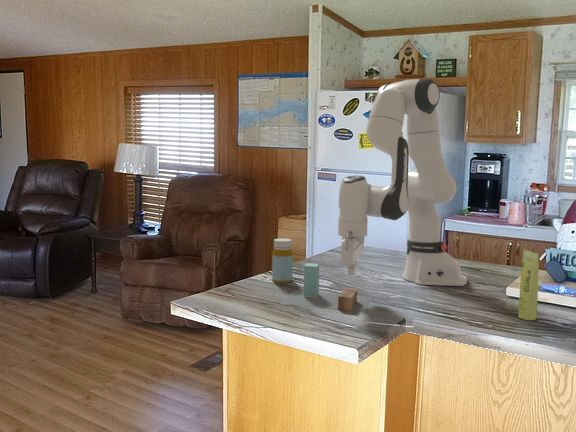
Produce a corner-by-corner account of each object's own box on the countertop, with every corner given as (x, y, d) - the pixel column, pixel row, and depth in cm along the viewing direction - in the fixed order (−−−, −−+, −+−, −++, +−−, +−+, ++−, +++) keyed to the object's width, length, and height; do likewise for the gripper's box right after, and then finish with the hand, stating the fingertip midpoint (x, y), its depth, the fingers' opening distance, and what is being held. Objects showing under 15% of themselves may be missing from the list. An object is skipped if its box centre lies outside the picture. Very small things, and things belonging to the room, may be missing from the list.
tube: (513, 317, 165) (517, 250, 163) (519, 313, 169) (523, 248, 166) (533, 322, 162) (538, 253, 159) (539, 317, 166) (544, 251, 163)
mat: (372, 298, 183) (372, 297, 183) (365, 313, 168) (365, 312, 168) (293, 291, 190) (293, 290, 190) (279, 305, 175) (279, 304, 175)
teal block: (318, 294, 186) (319, 264, 184) (315, 297, 182) (316, 266, 181) (306, 293, 187) (307, 263, 185) (303, 296, 183) (304, 265, 182)
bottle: (290, 285, 198) (290, 242, 196) (270, 283, 200) (270, 241, 198) (294, 280, 205) (294, 238, 203) (274, 278, 207) (275, 237, 204)
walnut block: (357, 288, 178) (351, 297, 168) (356, 301, 178) (351, 310, 169) (344, 287, 179) (338, 296, 169) (344, 300, 180) (338, 309, 170)
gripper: (357, 235, 165) (356, 282, 167) (367, 224, 185) (366, 267, 187) (336, 234, 167) (335, 281, 169) (348, 223, 186) (347, 265, 188)
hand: (351, 273), depth 178 cm, fingers closed
